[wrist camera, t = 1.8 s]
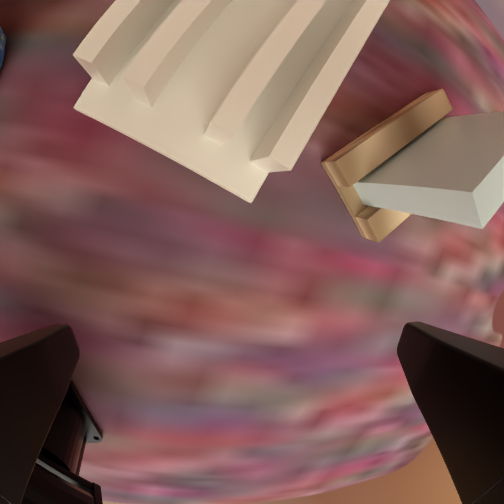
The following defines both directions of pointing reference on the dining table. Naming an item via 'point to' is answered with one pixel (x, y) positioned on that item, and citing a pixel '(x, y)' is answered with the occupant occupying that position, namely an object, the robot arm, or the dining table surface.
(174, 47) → the rack
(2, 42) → the snack cup
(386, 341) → the dining table surface
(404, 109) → the stand
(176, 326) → the dining table surface
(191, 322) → the dining table surface
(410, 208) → the pale grey tapered slat
